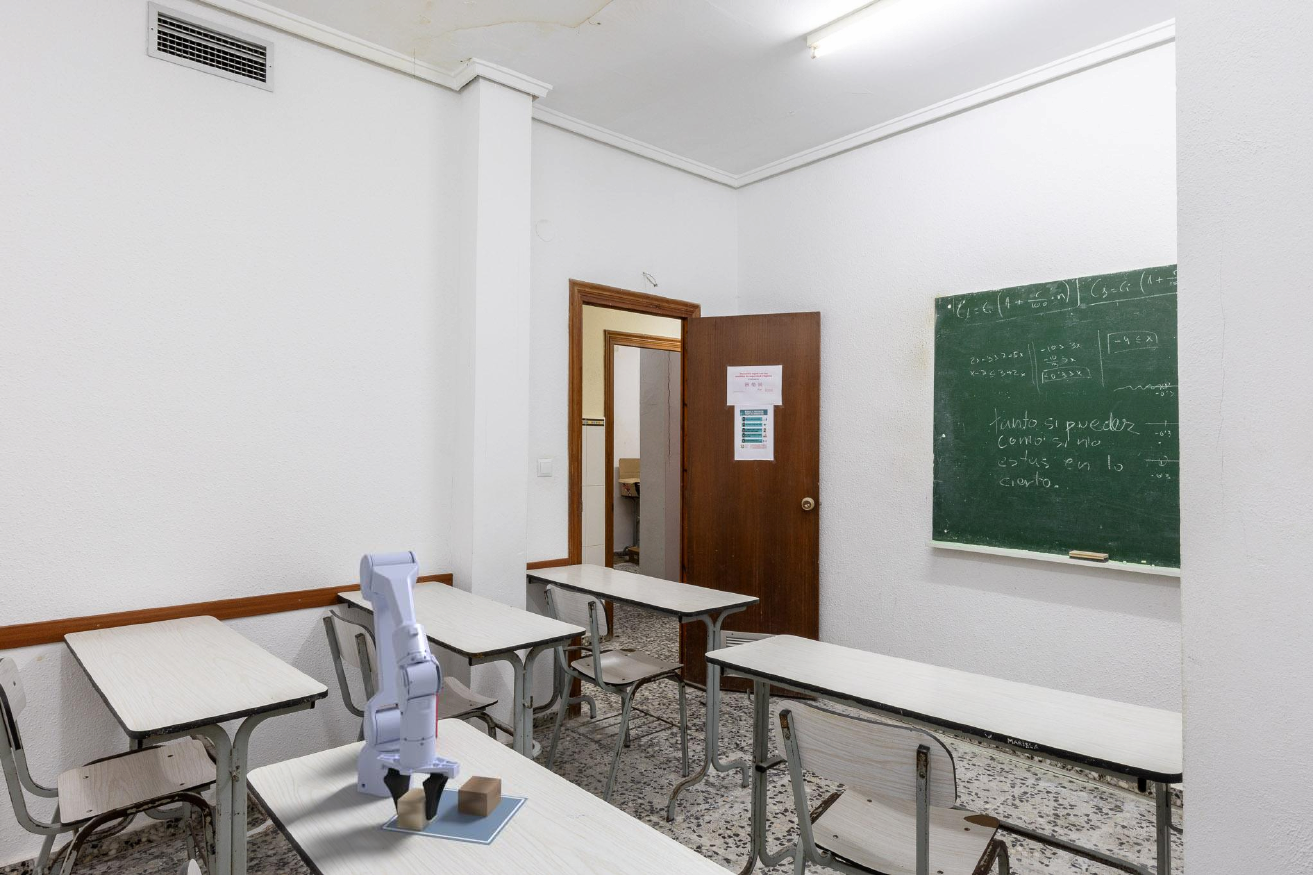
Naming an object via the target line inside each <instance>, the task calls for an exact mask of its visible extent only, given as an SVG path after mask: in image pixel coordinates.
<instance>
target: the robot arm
mask: <svg viewBox="0 0 1313 875" xmlns="http://www.w3.org/2000/svg"><path fill="white" fill-rule="evenodd" d="M419 572H420V562H419V557H418V555H417V553H415V551H414V550H409V551H400V552H389V553H388V552H387V553H376V554H372V553H371V554H369V553H367V554H365V553H364V554H363V556H362V557H361V558H360V563H359V584H360V594H361V598H362V600H364V601H367V602H369V603H370V604H371V608H372V612H373V626H374V637H375V640H374V641H375V651H376V652H375V654H376V666H377V679H378V680H377V681H378V691H377V692H376V693H375V694H374V695H373V696H372V697H371V698H370V699H369V700H368V701H367V702H366V703H365V706H364V709H363V716H364V717H363V729H362V730H363V737H364V741H365V743H364V745H363V746H362V747H361V749H360V752H359V754H358V759H357V792H358V793H364V794H371V795H374V796H377V797H381V798H391V797H392V800H393V803H394V807H395V811H396V813H397V812H398V799H399V798H401V797H402V796H403V795H404V794H405V793H407V792H408V791H409V790H410V789H411V788H414V783H415V781H414V780H415V774H424V775H426V774H427V775H429V776H428V777H427V778H426V779H424V780H423V781H422V787H423V788H422V789H424V792H425V798H426V819H427V820H432V819H433V818H434V817H435V816H436V814H437V809H438V805H439V801H440V798H441V795H442V792H443V790H444V788H446V785H447V783H448V781H449V780H450V779H451V780H454V779H455V778H457V777H458V776H459V775H460V766H461V765H460V762H458V761H457V762H456V761H452V760H450V759H447V758H443V757H441V756H439V755H436V740H437V738H436V695H435V694H438V695H439V694H440V692H441V689H442V685H443V684H442V679H443V678H442V670H441V666H440V663H439V661H438V659H436V657H435V655H434V654H433V653H432V654H431V649H430V646H429V642H428V637H427V632H426V629H425V627H424V625H422V624H420V623H419V622H417V619H416V610H415V603H414V597H413V596H414V594H413V589H415V587H416V583H417V579H418V578H419ZM396 703H398V706H396V705H395V704H396ZM390 705H395V706H391V707H386V708H382V709H381V707H384V706H390ZM379 708H380V709H379Z"/></svg>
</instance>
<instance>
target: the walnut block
mask: <svg viewBox="0 0 1313 875" xmlns="http://www.w3.org/2000/svg"><path fill="white" fill-rule="evenodd" d="M457 790H458V813H460V814H468V815H475V816H483V817H488V816H489V814H490V813H491V812H492V811H493V810H494V809H495V808H496V807H497V806H498V804H499V803H500V802H501V795H502V778H497V777H496V778H495V777H488V776H478V775H472V776H471V777H470V778H469V779H468V780H467V781H466V782H464V783H463V785H461V786H460V788H458V789H457Z"/></svg>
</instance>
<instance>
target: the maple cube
mask: <svg viewBox="0 0 1313 875" xmlns="http://www.w3.org/2000/svg"><path fill="white" fill-rule="evenodd" d="M396 813H397V827H399V828H406V829H413V830H420V831H422V830H423V829H424V828H425V827H426V826H427V825H428V824H429V823H430V822H431V821H432V820H433V819H434V818H435V817H436V816H435V817H434V818H433V819H432V820H427V819H426V798H425V792H424V788H421V787H413V788H411V789H410V790H409V791H408V792H407V793H405V794H404V795H403V796H402V797H401V798H399V799H398V812H397V811H396Z"/></svg>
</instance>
